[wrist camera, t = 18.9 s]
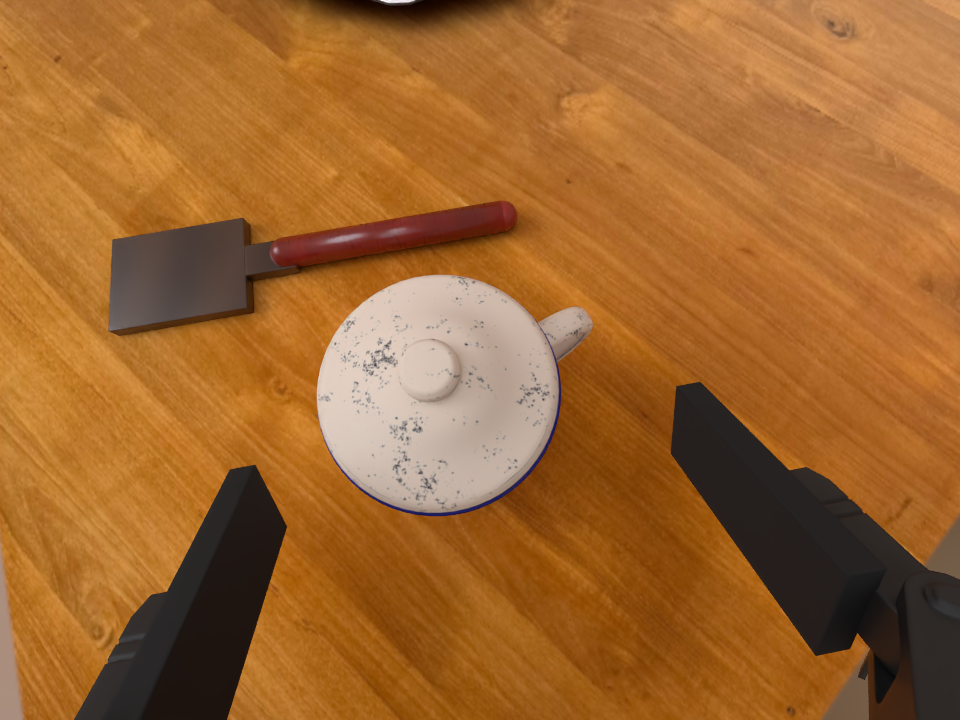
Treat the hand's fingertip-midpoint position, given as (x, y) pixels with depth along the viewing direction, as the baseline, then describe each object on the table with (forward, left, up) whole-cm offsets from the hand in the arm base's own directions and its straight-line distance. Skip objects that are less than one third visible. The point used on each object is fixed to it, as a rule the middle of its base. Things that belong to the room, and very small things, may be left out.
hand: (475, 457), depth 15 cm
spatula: (-8, +14, -10) cm, 19 cm away
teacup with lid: (0, +3, -11) cm, 11 cm away
